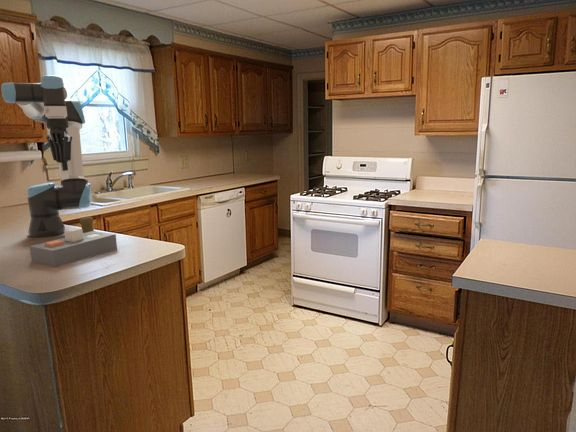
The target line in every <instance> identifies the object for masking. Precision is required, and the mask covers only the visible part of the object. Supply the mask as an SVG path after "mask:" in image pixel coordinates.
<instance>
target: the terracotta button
mask: <svg viewBox="0 0 576 432" xmlns="http://www.w3.org/2000/svg"><path fill="white" fill-rule="evenodd" d="M53 240H54V241H53ZM53 240H50V242H49V241H46V242H44V243H45V246H47V247H56V246H60V245H64V241H60V240H57V239H53Z"/></svg>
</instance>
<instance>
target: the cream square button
mask: <svg viewBox="0 0 576 432" xmlns="http://www.w3.org/2000/svg"><path fill="white" fill-rule="evenodd" d="M99 235H100V234H91V235H87V236H86V237H95V236H99Z"/></svg>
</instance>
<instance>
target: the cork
mask: <svg viewBox="0 0 576 432" xmlns="http://www.w3.org/2000/svg"><path fill="white" fill-rule="evenodd" d="M79 224H80V226H81V229H82V231H83V233H86V232H90V231H94V226H93V224H94V218H93V217H91V216H83V217H81V218H80V219H79Z"/></svg>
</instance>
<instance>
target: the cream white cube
mask: <svg viewBox="0 0 576 432" xmlns="http://www.w3.org/2000/svg"><path fill="white" fill-rule="evenodd" d="M64 238H65V240H66V241H70V242H75V241H78V240H82V239H83V231H82V228H77V227H73V228H69V229H65V230H64Z"/></svg>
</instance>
